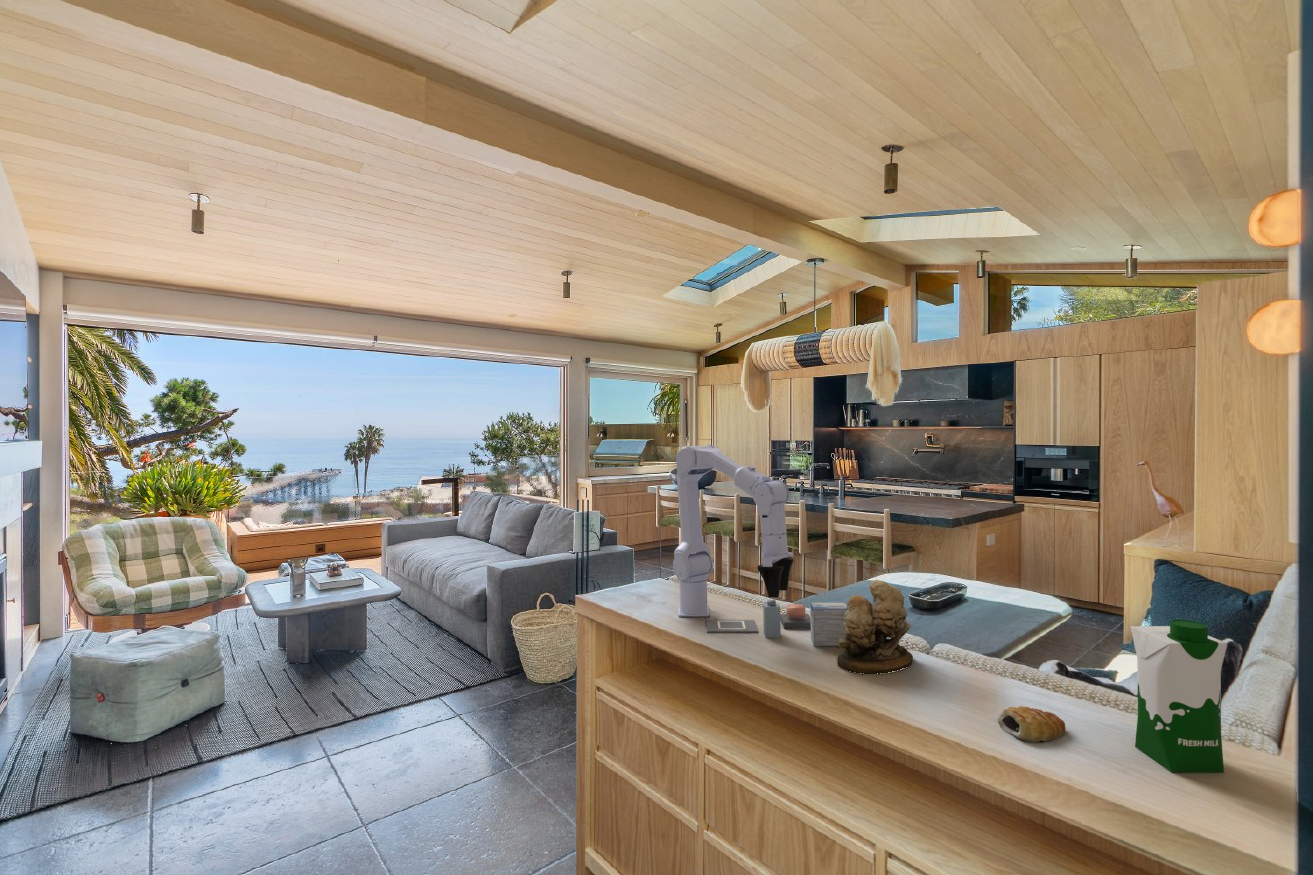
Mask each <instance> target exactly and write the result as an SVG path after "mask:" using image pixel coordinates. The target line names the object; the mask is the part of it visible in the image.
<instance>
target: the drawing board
mask: <svg viewBox="0 0 1313 875" xmlns="http://www.w3.org/2000/svg"><path fill="white" fill-rule="evenodd" d="M705 624H706V632H707V634H718V633H720V634H729V633H730V634H735V633H736V634H746V633H747V634H756V633H757V634H758V633H759V629H758V627H757V624H756V621H755V619H705Z"/></svg>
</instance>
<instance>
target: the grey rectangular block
mask: <svg viewBox="0 0 1313 875" xmlns="http://www.w3.org/2000/svg"><path fill="white" fill-rule="evenodd" d="M780 614H781V606H780V604H779V603H778V602H776V600H775V599H767V601H766V602H763V603H762V616H763V617H762V618H763V619H762V622H763V624H762V626H763V627H762V628H763V629H762V630H763V635H764V638H781V636H782V633H781V632H782V630H781V621H780Z"/></svg>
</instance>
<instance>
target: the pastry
mask: <svg viewBox="0 0 1313 875" xmlns="http://www.w3.org/2000/svg"><path fill="white" fill-rule="evenodd" d="M997 723H998V725H999V726H1000V728H1001V730H1003V731H1004V732H1006V733H1008V734H1010V735H1012V736H1014V737H1015V738H1016V739H1019V740H1021V741H1026V742H1029V743H1038V742H1040V741H1044V742H1050V741H1051V740H1056V739H1058V738H1061V737H1063V735H1065V733H1066V729H1067V728H1066V723H1065V721H1064V720H1062V718H1060V717H1059V716H1057V715H1056V714H1055V713H1053V712H1051V711H1044V710H1042V709H1038V708H1030V707H1028V706H1021V705H1020V706H1017V707H1015V706H1009V707H1008V708H1005V709H1003V710H1002V712H1000V714H999V716H998V717H997Z"/></svg>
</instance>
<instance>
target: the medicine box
mask: <svg viewBox="0 0 1313 875" xmlns="http://www.w3.org/2000/svg"><path fill="white" fill-rule="evenodd" d="M846 608H847V604H846V603H845V602H810V605H809V609H810V610H809V611H810V612H809V613H810V614H809V616H810V620H811V629H810V641H811V643H812V645H813V647H840V646H839V645H838V641H839V638H845V637H846V635H845V634H844V632H843V624H844V614H845V612H846V611H847V609H846Z"/></svg>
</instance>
